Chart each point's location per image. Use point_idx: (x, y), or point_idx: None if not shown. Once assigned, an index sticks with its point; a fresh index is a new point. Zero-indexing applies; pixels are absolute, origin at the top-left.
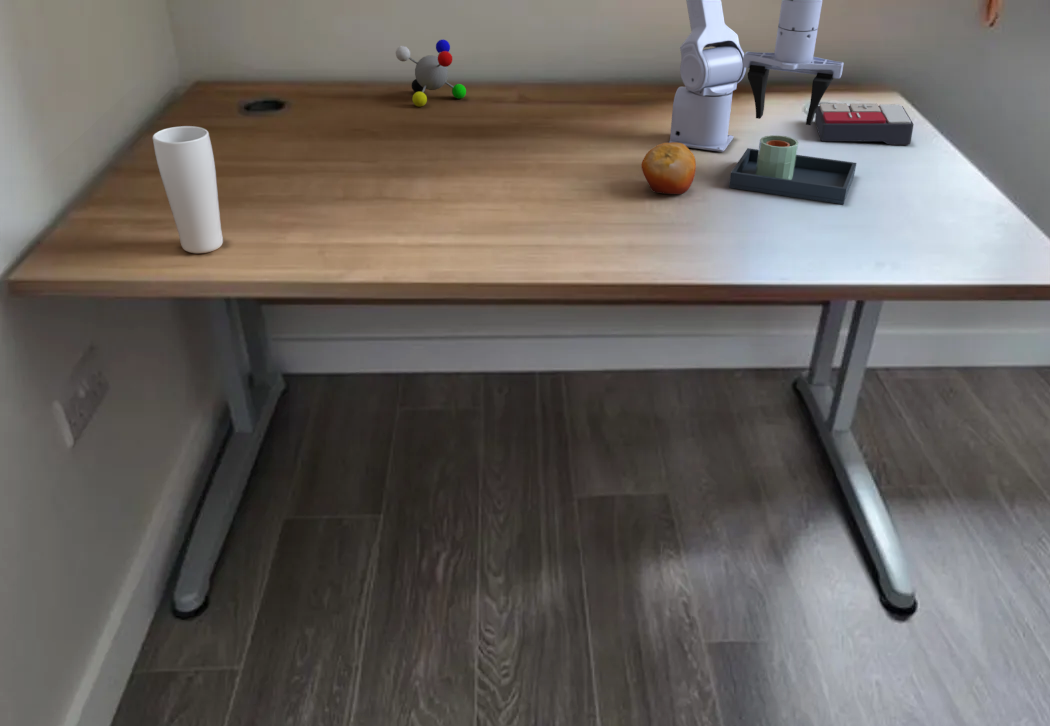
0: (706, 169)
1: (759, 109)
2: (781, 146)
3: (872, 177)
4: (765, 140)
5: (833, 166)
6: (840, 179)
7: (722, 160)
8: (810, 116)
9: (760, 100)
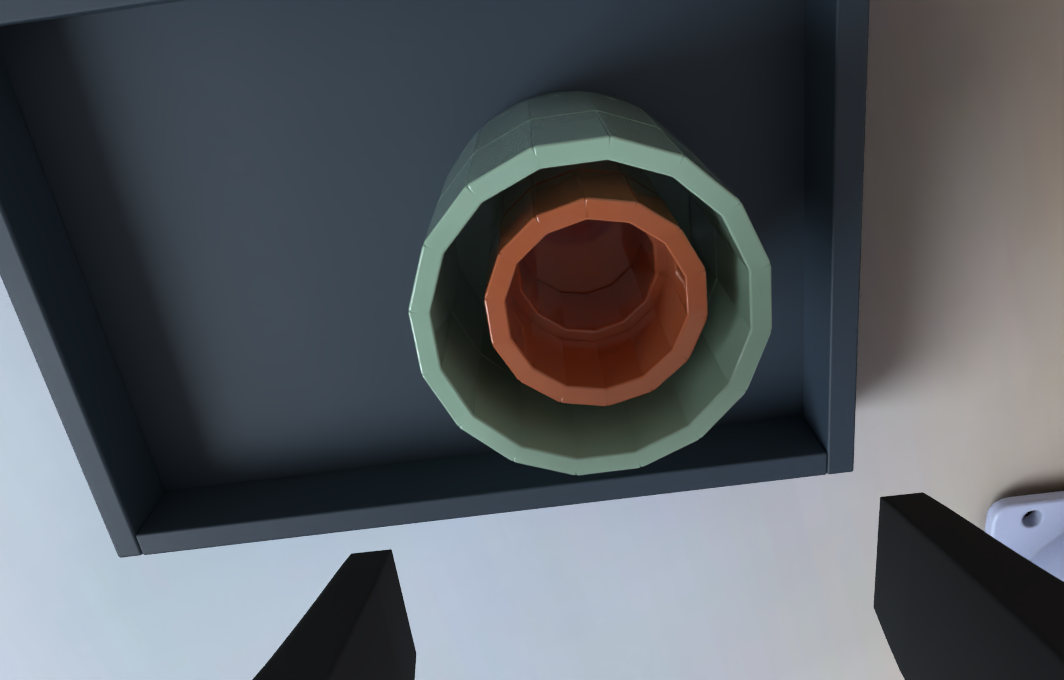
0: (1050, 175)
1: (949, 543)
2: (577, 365)
3: (77, 552)
4: (727, 352)
5: (259, 498)
6: (173, 387)
7: (967, 386)
8: (329, 604)
9: (1015, 610)
